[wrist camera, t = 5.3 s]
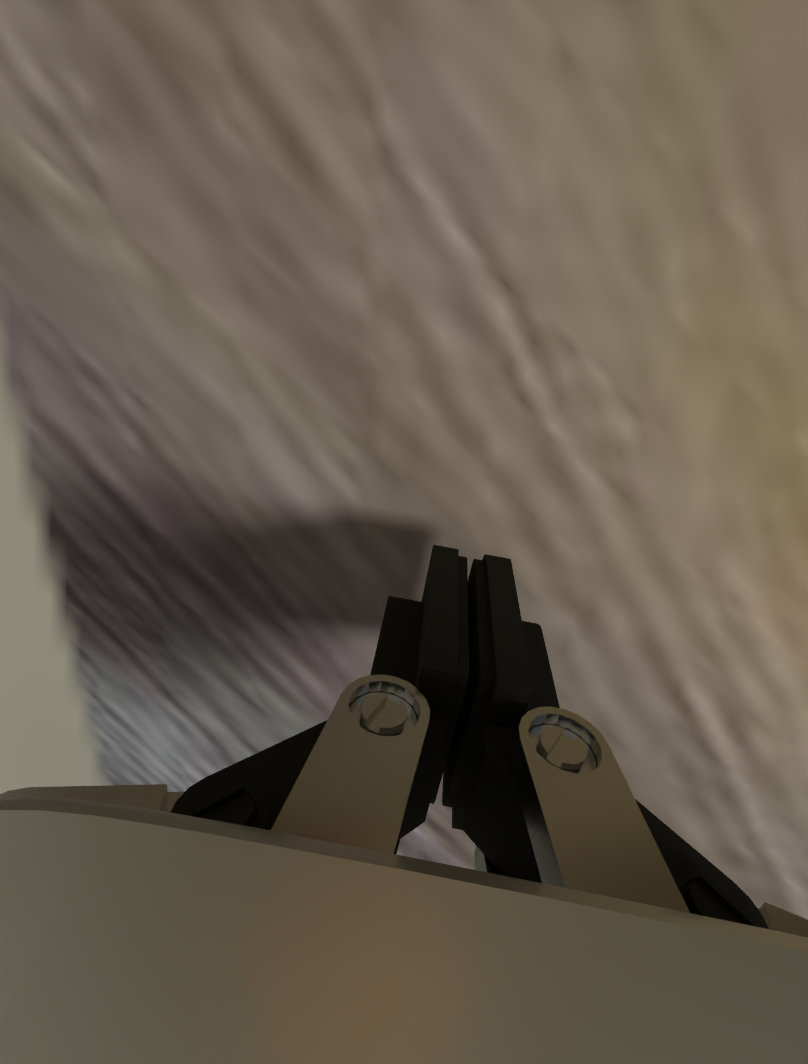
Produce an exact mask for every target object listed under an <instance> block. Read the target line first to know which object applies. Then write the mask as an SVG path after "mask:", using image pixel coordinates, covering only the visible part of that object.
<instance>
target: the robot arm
mask: <svg viewBox="0 0 808 1064" xmlns="http://www.w3.org/2000/svg"><path fill="white" fill-rule="evenodd" d="M458 552H459V551H458V549H454V548H448V547H443V546H437V545H434V546H433V549H432V554H431V559H430V563H429V568H428V573H427V578H426V583H425V588H424V592H423V597H422V602H419V601H413V600H408V599H403V598H397V597H392V596H389V597H388V601H387V605H386V610H385V614H384V618H383V623H382V627H381V631H380V636H379V640H378V644H377V649H376V653H375V658H374V662H373V666H372V671H371V675H369V676H365V677H362V678H358V679H357V680H355V681H354V682H352V683H350V684H349V685H348V686H347V687H346V688H345V690H344V691H343V692H342V693H341V695H340V697H339V699H338V701H337V703H336V705H335V707H334V709H333V711H332V713H331V715H330V717H329V718H328V720H327V721H325V722H323V723H320V724H318V725H316V726H314V727H312V728H310V729H308V730H305V731H303V732H301V733H299V734H297V735H295V736H293V737H291V738H288V739H286V740H284V741H282V742H280V743H278V744H276V745H274V746H271V747H269V748H267V749H265V750H263V751H261V752H259V753H257V754H254V755H252V756H250V757H248V758H246V759H244V760H242V761H240V762H237V763H235V764H233V765H231V766H229V767H227V768H225V769H223V770H220V771H218V772H216V773H214V774H212V775H210V776H208V777H206V778H204V779H202V780H200V781H199V782H197V783H196V784H194V785H193V786H191V787H189V788H188V789H187V790H186V791H185V792H167V784H159V785H113V786H67V787H29V788H22V789H16V790H10V791H7V792H5V793H3V794H0V1064H808V920H807V919H805V918H802V917H800V916H798V915H795V914H793V913H790V912H788V911H785V910H783V909H781V908H778V907H776V906H773V905H771V904H768V903H766V902H765V903H764V904H763V905H762V907H761V908H760V909H759V908H757V907H756V906H755V905H754V903H753V902H752V900H751V899H750V898H749V897H748V896H747V895H746V894H745V893H744V892H743V891H742V890H741V889H740V888H739V887H738V886H737V885H736V884H735V883H734V882H733V881H732V880H731V879H729V878H728V877H727V876H726V875H725V874H723V873H722V872H721V871H720V870H719V869H718V868H716V867H715V866H714V865H713V864H712V863H710V862H709V861H708V860H707V859H706V858H704V857H703V856H702V855H701V854H700V853H699V852H697V851H696V850H695V849H694V848H693V847H691V846H690V845H689V844H688V843H687V842H685V841H684V840H683V839H682V838H681V837H680V836H678V835H677V834H676V833H675V832H674V831H672V830H671V829H670V828H669V827H668V826H666V825H665V824H664V823H663V822H662V821H661V820H659V819H658V818H657V817H656V816H655V815H653V814H652V813H651V812H650V811H649V810H647V809H646V808H645V807H644V806H643V805H642V804H640V803H639V802H638V801H637V800H636V799H635V798H634V796H633V794H632V792H631V790H630V788H629V786H628V784H627V782H626V780H625V778H624V776H623V774H622V771H621V769H620V767H619V765H618V763H617V761H616V759H615V757H614V755H613V753H612V751H611V749H610V747H609V745H608V743H607V742H606V740H605V739H604V737H603V736H602V734H601V733H600V732H599V731H598V730H597V729H596V728H595V727H594V726H593V725H592V724H591V723H590V722H588V721H587V720H585V719H583V718H582V717H580V716H579V715H577V714H575V713H572V712H570V711H568V710H565V709H561V708H560V707H559V703H558V699H557V694H556V690H555V686H554V681H553V677H552V672H551V668H550V664H549V659H548V655H547V651H546V646H545V642H544V638H543V633H542V629H541V627H540V625H539V624H536V623H530V622H525V621H522V620H521V615H520V609H519V603H518V598H517V592H516V586H515V581H514V575H513V569H512V563H511V560H510V559H507V558H502V557H497V556H491V555H486V554H485V555H484V557H483V560H477V559H474V560H473V563H472V567H471V571H470V575H469V579H468V580H467V558H466V557H461V556H458ZM442 774H443V794H442V803H443V806H447V807H452V828H456V829H461V830H463V831H464V832H465V833H466V834H467V835H468V836H469V838H470V839H471V840H472V841H473V842H474V843H475V844H476V849H475V852H474V859H475V870H472V869H467V868H462V867H456V866H451V865H446V864H441V863H436V862H431V861H426V860H421V859H416V858H411V857H406V856H400V855H396V854H397V851H398V847H399V843H400V839H401V838H402V837H403V836H405V835H406V834H408V833H409V832H410V831H412V830H413V829H415V828H416V827H418V826H419V825H420V824H422V823H423V822H425V818H426V815H427V811H428V807H429V804H430V803H432V804H434V802H435V799H436V796H437V792H438V789H439V785H440V781H441V778H442Z"/></svg>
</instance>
